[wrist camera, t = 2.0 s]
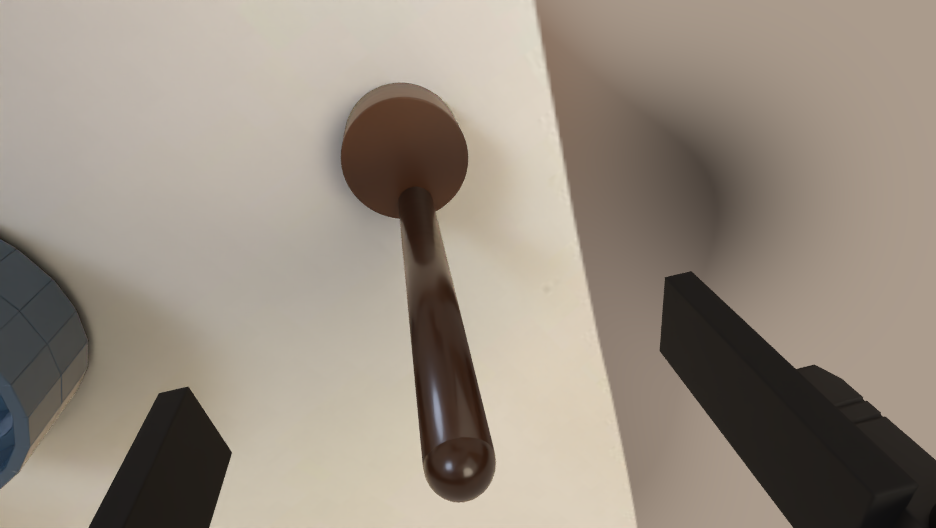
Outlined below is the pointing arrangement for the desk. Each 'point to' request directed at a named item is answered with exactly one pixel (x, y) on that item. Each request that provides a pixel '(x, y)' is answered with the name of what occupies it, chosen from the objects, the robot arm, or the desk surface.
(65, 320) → the mixing bowl
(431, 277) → the ladle
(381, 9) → the desk surface
